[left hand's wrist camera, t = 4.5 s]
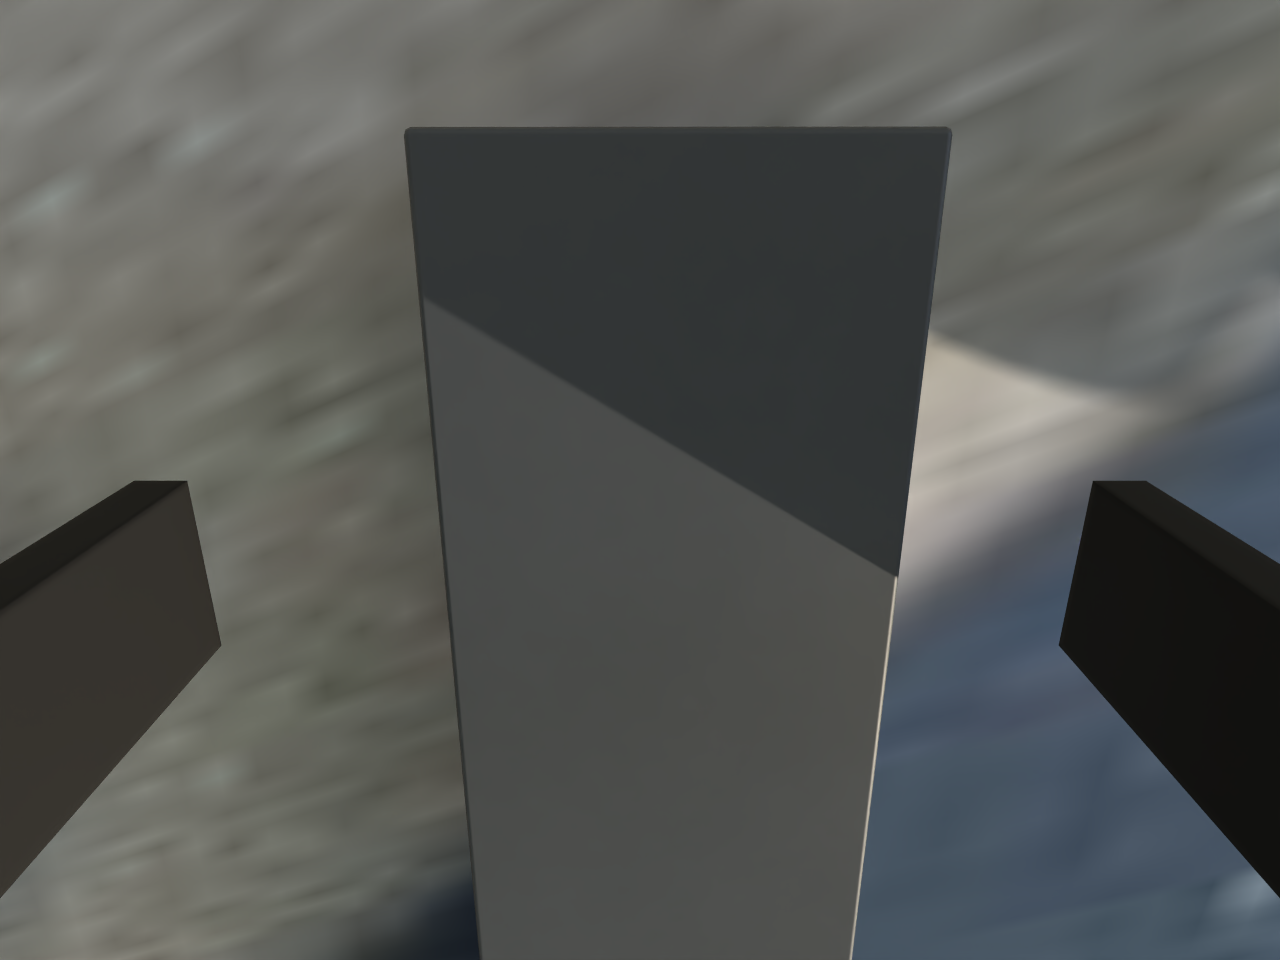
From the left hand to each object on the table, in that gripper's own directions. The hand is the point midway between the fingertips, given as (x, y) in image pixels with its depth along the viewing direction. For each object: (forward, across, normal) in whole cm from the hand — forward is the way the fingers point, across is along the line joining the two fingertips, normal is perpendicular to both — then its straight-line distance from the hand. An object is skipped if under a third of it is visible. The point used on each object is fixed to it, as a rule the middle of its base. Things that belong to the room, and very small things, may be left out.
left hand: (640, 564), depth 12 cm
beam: (+7, 0, -27) cm, 28 cm away
